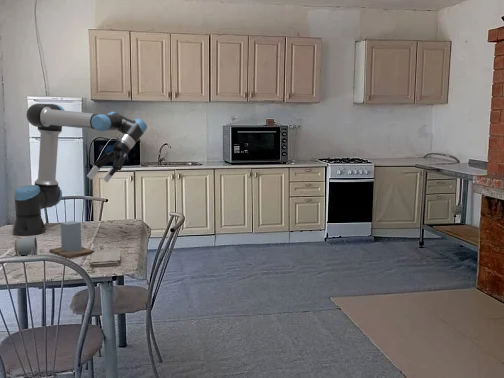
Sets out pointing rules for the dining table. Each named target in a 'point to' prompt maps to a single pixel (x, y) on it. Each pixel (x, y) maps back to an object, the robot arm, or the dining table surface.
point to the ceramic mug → (26, 246)
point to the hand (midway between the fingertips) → (96, 179)
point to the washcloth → (105, 259)
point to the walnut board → (71, 254)
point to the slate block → (71, 236)
